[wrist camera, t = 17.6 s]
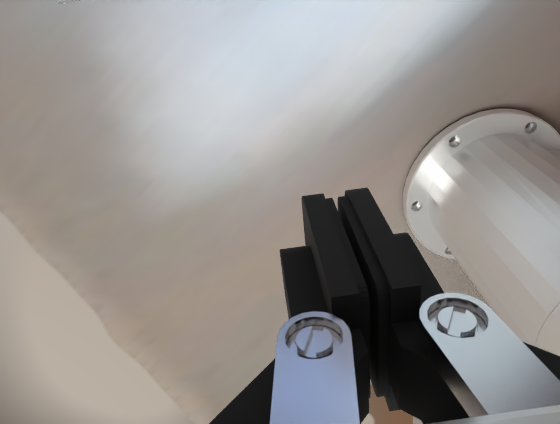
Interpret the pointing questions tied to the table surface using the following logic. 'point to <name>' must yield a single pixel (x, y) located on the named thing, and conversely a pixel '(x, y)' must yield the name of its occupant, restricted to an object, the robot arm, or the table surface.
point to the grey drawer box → (65, 1)
